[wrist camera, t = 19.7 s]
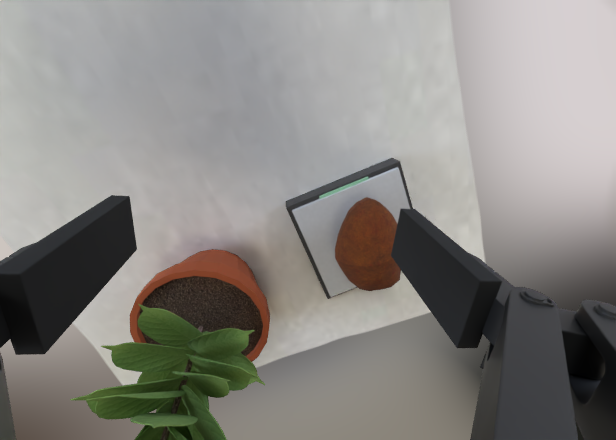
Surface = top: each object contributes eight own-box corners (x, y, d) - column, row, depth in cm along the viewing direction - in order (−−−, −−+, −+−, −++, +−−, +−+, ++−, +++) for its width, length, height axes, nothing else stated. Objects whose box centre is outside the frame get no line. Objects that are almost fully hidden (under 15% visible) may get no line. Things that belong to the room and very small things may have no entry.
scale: (285, 201, 38) (286, 209, 35) (392, 157, 37) (401, 162, 34) (324, 288, 43) (328, 301, 40) (419, 251, 42) (429, 262, 40)
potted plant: (296, 287, 43) (333, 643, 15) (211, 343, 45) (102, 747, 17) (224, 206, 37) (73, 516, 10) (132, 273, 39) (-216, 690, 12)
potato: (342, 284, 39) (357, 326, 32) (317, 203, 35) (328, 230, 28) (399, 266, 39) (427, 305, 32) (381, 183, 35) (409, 205, 28)
